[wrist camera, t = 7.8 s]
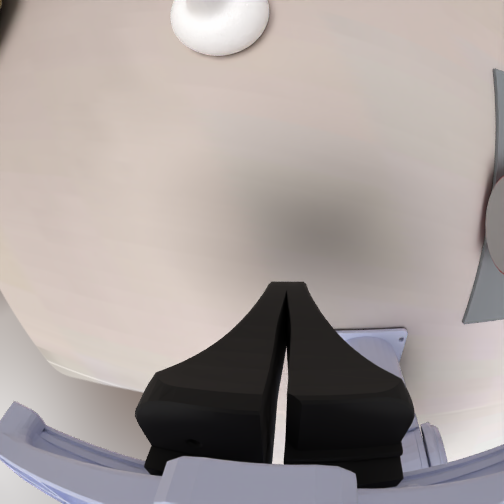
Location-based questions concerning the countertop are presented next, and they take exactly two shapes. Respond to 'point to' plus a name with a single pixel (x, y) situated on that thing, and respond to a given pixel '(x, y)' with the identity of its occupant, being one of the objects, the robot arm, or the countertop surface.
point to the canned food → (496, 225)
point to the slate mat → (488, 276)
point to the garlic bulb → (219, 24)
